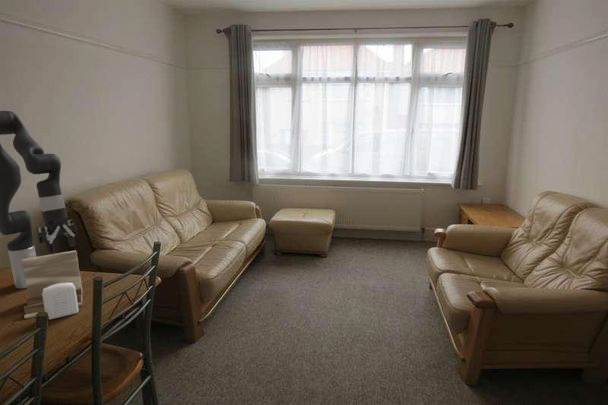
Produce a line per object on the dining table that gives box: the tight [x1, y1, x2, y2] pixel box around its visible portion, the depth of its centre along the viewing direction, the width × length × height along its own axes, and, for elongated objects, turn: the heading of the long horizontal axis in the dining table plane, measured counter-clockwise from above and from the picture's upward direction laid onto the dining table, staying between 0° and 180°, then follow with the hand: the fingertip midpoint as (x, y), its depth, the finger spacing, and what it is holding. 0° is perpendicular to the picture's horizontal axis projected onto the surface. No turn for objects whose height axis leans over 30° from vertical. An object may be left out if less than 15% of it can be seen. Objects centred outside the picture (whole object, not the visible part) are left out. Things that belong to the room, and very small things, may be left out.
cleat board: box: [22, 250, 83, 319], centre depth 143 cm, size 16×18×18 cm
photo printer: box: [42, 283, 80, 320], centre depth 135 cm, size 10×4×12 cm, turn 123°
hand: (62, 250), depth 138 cm, fingers open, 8 cm apart
